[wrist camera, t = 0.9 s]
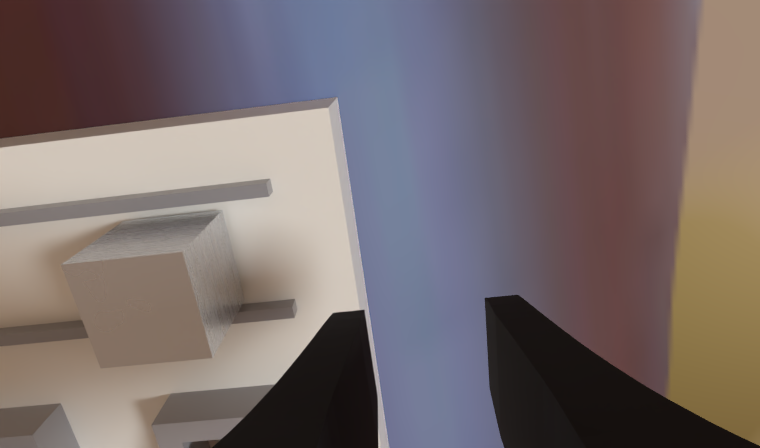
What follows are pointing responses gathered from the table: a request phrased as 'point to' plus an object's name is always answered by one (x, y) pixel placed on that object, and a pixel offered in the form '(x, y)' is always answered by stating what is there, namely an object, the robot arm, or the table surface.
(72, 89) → the table surface
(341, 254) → the control panel
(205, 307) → the slider knob
